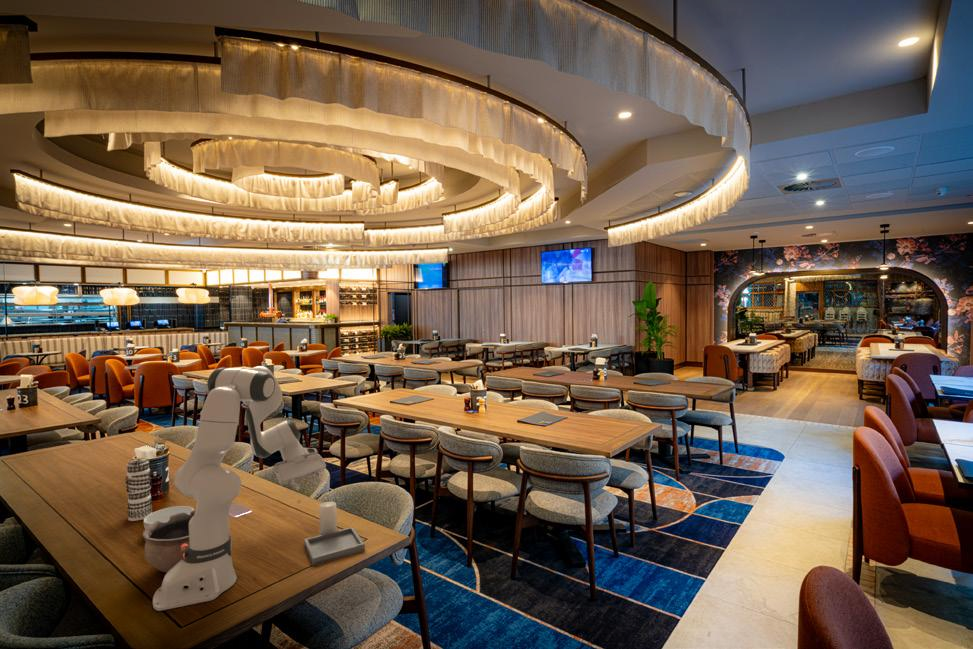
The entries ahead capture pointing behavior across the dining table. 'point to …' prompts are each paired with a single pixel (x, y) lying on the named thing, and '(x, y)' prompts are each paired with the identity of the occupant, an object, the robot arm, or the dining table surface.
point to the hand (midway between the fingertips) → (309, 485)
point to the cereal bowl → (165, 514)
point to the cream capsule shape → (327, 517)
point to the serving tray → (333, 545)
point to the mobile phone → (238, 510)
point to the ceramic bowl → (167, 541)
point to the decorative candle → (138, 489)
